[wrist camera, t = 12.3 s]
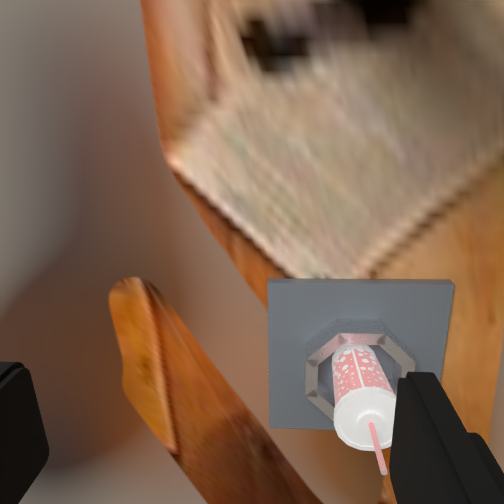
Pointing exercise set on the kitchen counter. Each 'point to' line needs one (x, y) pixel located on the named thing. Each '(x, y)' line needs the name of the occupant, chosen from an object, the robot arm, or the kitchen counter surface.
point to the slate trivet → (347, 306)
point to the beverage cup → (362, 401)
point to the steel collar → (352, 334)
